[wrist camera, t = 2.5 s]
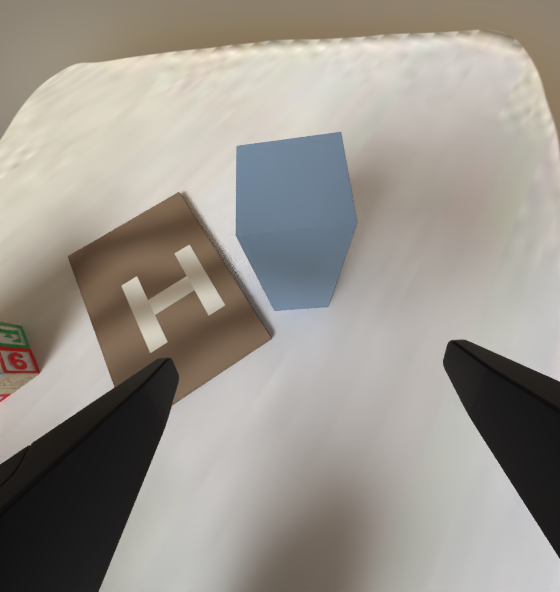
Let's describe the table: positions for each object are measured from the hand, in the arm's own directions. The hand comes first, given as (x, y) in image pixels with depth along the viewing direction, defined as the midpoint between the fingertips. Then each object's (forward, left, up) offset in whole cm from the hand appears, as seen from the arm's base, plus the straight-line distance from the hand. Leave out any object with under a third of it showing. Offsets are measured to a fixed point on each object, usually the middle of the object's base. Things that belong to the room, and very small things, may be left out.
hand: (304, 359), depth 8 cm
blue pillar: (+7, -4, -13) cm, 15 cm away
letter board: (+14, +8, -13) cm, 21 cm away
